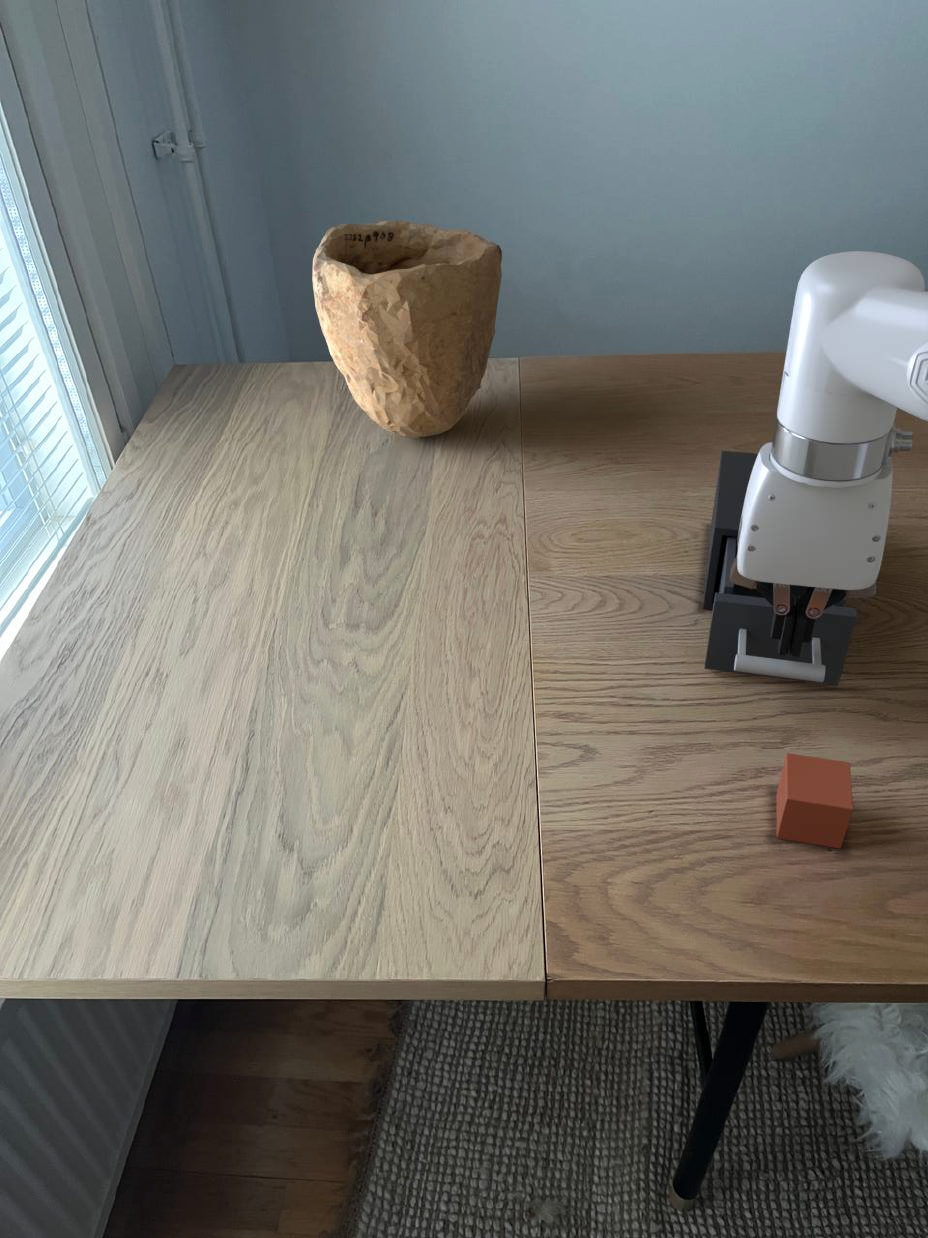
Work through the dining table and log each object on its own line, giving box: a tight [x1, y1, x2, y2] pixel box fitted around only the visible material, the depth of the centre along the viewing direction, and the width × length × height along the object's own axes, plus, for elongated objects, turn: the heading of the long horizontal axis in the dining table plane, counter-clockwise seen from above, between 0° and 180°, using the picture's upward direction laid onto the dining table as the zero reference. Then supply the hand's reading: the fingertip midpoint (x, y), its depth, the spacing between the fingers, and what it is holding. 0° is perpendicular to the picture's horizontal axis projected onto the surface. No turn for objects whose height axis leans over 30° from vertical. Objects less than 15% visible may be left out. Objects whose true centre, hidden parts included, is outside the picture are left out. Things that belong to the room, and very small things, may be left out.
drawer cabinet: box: [702, 450, 759, 611], centre depth 94 cm, size 15×13×10 cm
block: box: [776, 753, 854, 850], centre depth 71 cm, size 5×5×5 cm
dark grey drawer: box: [703, 536, 858, 687], centre depth 85 cm, size 18×11×8 cm, turn 166°
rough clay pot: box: [311, 219, 503, 439], centre depth 116 cm, size 22×22×25 cm
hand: (788, 644), depth 77 cm, fingers closed
